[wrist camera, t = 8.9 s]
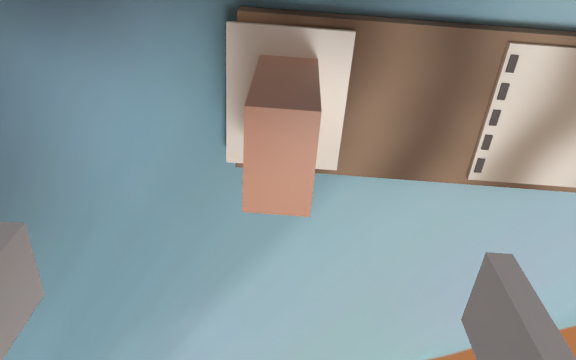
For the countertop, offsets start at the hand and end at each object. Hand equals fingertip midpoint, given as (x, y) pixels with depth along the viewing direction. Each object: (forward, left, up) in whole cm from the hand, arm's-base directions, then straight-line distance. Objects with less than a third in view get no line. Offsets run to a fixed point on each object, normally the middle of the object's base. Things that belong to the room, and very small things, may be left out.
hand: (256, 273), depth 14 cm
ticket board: (+8, 0, -15) cm, 17 cm away
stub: (0, 0, -14) cm, 14 cm away
